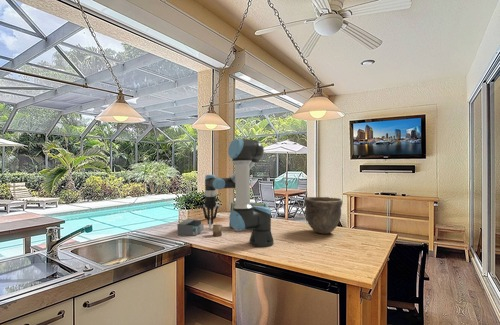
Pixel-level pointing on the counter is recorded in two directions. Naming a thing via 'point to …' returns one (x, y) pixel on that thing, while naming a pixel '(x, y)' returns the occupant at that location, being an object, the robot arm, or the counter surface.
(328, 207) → the clay pot
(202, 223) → the tray
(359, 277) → the counter surface
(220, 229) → the post
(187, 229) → the box
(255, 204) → the radio
